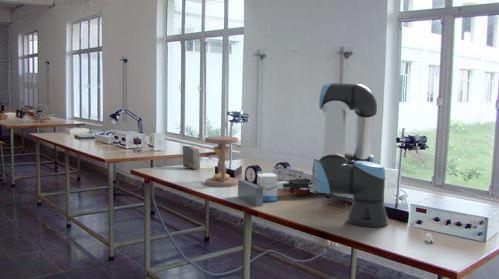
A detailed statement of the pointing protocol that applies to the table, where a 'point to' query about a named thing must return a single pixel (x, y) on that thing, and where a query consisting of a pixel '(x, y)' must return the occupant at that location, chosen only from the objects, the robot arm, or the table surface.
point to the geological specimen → (191, 157)
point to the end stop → (250, 192)
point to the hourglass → (221, 162)
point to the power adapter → (428, 237)
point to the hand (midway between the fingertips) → (276, 185)
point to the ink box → (268, 186)
